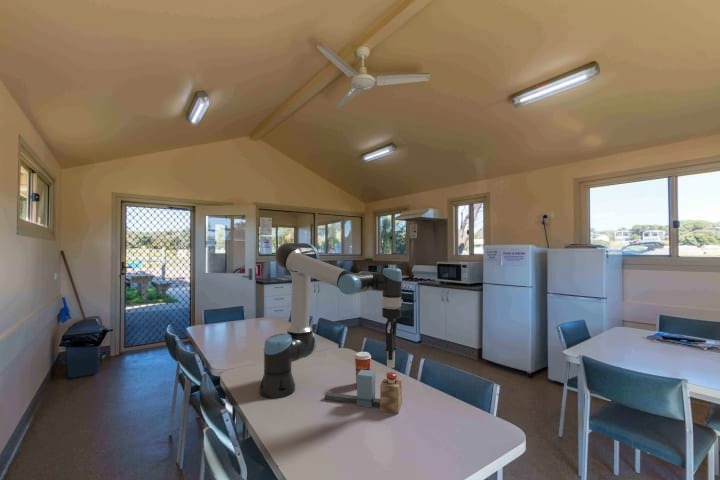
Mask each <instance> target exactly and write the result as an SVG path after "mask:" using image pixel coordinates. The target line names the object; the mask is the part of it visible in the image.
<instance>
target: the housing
mask: <svg viewBox="0 0 720 480" xmlns="http://www.w3.org/2000/svg"><path fill="white" fill-rule="evenodd" d="M379 387H380V392H379V393H380V394H379V395H380V396H379V397H380V398H379V399H380V407H379V411H380V412H383V413H391V414H399V413H400V410H401V407H402V404H403V378H402V377H397V378H396V379H395V384H391V383H388V378H387V377H386V376H384V377H383V379H382V381H381V383H380V386H379Z"/></svg>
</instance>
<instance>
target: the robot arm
mask: <svg viewBox="0 0 720 480" xmlns="http://www.w3.org/2000/svg"><path fill="white" fill-rule="evenodd" d="M276 249H277V250H276V251H275V254H274V255H275V256H274V257H275V262H276V264H277V265H278V266H279V267H280V268H282V269H284V270H286V271H289V273H290V274H291V303H290V304H291V305H290V308H291V309H290V326H289V327H288V328H287V333H279V334H277V333H276V334H274V335H271V336H269V337H267V338H266V339H265V340H264V347H263V375H262V378H261V382H260V385H259V391H258V394H259V395H260V396H262V397H263V398H268V399H280V398H284V397H288V396H290V395H292V394H293V393H294V392H295V391H296V383H295V379H294V377H293V373H292V363H293V362H295V361H298V360H302V359H305V358H307V357H309V356H310V355H313V353H314V352H315V350H316V348H317V343H318V340H317V337H316V334H315V333H314V332H313V327H311V326H310V313H311V312H310V311H311V309H310V308H311V304H310V303H311V278H312V279H315V280H318V281H319V282H323V283H326V284H328V285H330V286H333V287H335V288H337V289H339V290H340V292H341V293H342V294H343V295H349V296H351V295H356V294H359V293H364V292H370V291H375V292H381V293H382V300H381V301H382V302H381V303H382V304H381V305H382V308H381V314H382V315H381V316H382V318H384V319H387V320H386V322H385V328H384V329H385V352H386V355H387V356H386V367H387V368H388V369H389V368H390V369H395V351H396V350H397V347H396V343H397V326H398V321H397V320H398V319H401V317H402V308H401V307H402V303H403V301H404V300H403V299H402V290H403V289H402V287H403V285H402V282H403V274H402V270H401V269H400V268H399V267H398V268H396V267H385V268H383V269H382V272H376V271H375V272H374V271H368V270H367V271H359V272H358V273H357V272H355V273H354V272H352V271H349V270H347V269H345V268H341V267H339V266H336V265H332V264H330V263H328V262H325V261H322V260H320V253H319V251H318V249H317V248H316V246H314V245H313V244H312V243H305V242H301V243H300V242H296V243H295V242H286V243H283V244H281V245H280V246H279V247H278V248H276Z"/></svg>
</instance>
